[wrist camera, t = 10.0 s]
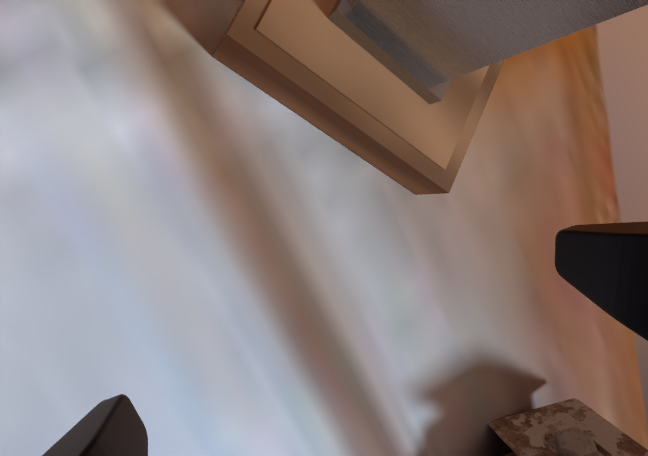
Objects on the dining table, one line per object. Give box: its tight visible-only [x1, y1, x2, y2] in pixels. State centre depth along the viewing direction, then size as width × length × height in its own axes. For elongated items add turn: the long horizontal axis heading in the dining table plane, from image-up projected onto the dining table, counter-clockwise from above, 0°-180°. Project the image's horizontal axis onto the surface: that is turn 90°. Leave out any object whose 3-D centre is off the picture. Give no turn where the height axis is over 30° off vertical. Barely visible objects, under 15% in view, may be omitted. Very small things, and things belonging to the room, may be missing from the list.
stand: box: [212, 0, 505, 195], centre depth 20 cm, size 12×12×3 cm
